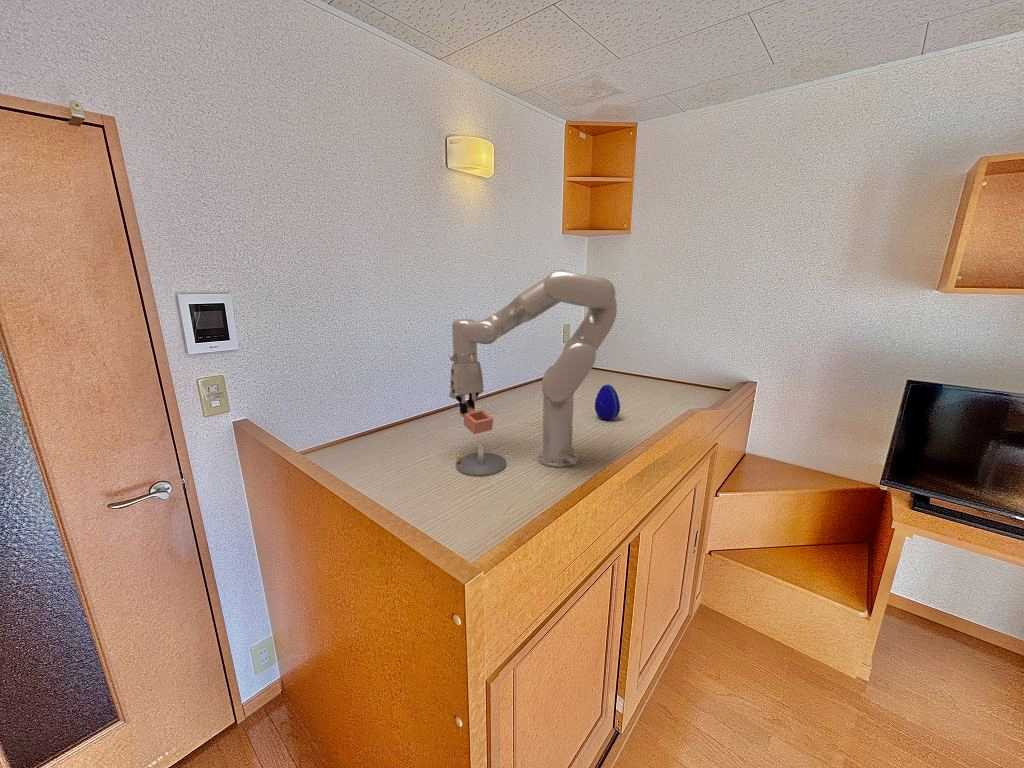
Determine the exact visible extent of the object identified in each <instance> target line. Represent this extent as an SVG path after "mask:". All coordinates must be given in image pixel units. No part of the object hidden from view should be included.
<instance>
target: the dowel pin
mask: <svg viewBox="0 0 1024 768" xmlns="http://www.w3.org/2000/svg"><path fill="white" fill-rule="evenodd" d="M455 456H456V457H455V458H456V459H455V460H456V462H457V464H460V458H461V454H460V453H457V454H455Z"/></svg>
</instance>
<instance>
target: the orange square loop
mask: <svg viewBox="0 0 1024 768" xmlns="http://www.w3.org/2000/svg"><path fill="white" fill-rule="evenodd" d="M465 403H466V404H467V402H466V401H465ZM459 415H460V416H461V417H463V425H464V427H466V428H467V429H468V430H469V431H470V432H471V433H472V434H473V435H477V434H481V433H485V432H490V431H492V430H493V424H494V418H493V417H491V416H490V415H489V414H488V413H486V411H485V410H483V409H481V410H474V409H473V408H472V407H470V406H469V405H468V404H467V413H466V414H465V415H464V414H462V413H461V412H460V411H459Z"/></svg>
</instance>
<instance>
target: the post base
mask: <svg viewBox="0 0 1024 768" xmlns="http://www.w3.org/2000/svg"><path fill="white" fill-rule="evenodd" d="M506 467H507V461H506V459H505V458H504V457H503V456H501V455H498V454H496V453H491V452H484V445H483V444H482V443H478V445H477V452H476V453H475V452H474V453H470V454H467V455H463V456H462V457H460V464H457V461H456V462H455V469H456V471H458V472H459V473H460V474H462V475H465V476H468V477H469V476H470V477H478V478H479V477H481V478H482V477H489V476H493V475H496V474H499V473H501V472H502V471H504V470H505V468H506Z"/></svg>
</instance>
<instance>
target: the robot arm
mask: <svg viewBox="0 0 1024 768" xmlns="http://www.w3.org/2000/svg"><path fill="white" fill-rule="evenodd" d="M559 303H565V304H570V305H574V306H578V307H579V306H581V307H585V308H588V309H587V312H586V315H585V317H584V318H583V320H582V321H581V323H580V324H579V326H578V328H577V329H576V330H575V332H574V333H573V334H572V336H571V337H570V339H569V340H567V342H566V343H565V345H564V347H563V350H562V352H561V354H560V355H559V357H558V358H557V360H556V361H555V363H554V364H553V365H551V366H549V367H548V368H547V369H546V371H545V372H544V374H543V378H542V382H541V391H542V393H543V394H542V396H543V397H542V398H543V399H542V404H543V405H542V408H543V409H542V451H540V452H539V453H538V454H537V460H538V461H539V463H541V464H543V465H545V466H548V467H552V468H563V467H564V468H565V467H569V466H572V465H576V464H577V463H578V461H579V459H580V456H579V455H577V454H576V453H575V448H573V423H574V422H573V418H574V416H573V415H574V393H576V391H577V390H578V388H579V387H580V386H581V384H582V383H583V382H584V380H585V379H586V378H587V376H588V375H589V373H590V372H591V370H592V368H593V367H594V365H595V363H596V359H597V354H596V353H597V351H598V349H599V348H600V347H601V345H602V344H603V342H604V341H605V339H606V338H607V336H608V334H609V333H610V331H611V330H612V328H613V326H614V323H615V321H616V318H617V312H618V307H617V305H618V304H617V299H616V288H615V286H614V284H613V283H612V282H611V281H610V280H609V279H608V278H604V277H600V276H595V275H594V276H593V275H589V274H588V275H586V274H581V273H576V272H572V271H567V270H564V269H558V270H554V271H551V273H549V274H548V275H547V276H546V277H544V278H542V279H541V280H539V281H538V282H537V283H535V284H533V285H531V286H530V287H529V288H528V289H526V290H524V291H522V292H521V293H520V294H518V295H516V297H515V298H514V299H513V300H511V301H510V302H509V303H508V304H507V305H505V306H504V307H502V308H501V309H500V310H497V312H495V313H493V314H492V315H489V316H488V317H486V318H484V319H481V320H474V319H470V318H460V319H455V320H453V321H452V324H451V327H452V329H451V330H452V331H451V332H452V350H453V351H452V352H453V353H452V356H450V357H449V360H450V362H451V361H452V363H451V368H450V377H449V378H450V381H449V383H450V386H449V387H450V391H449V394H448V397H449V398H451V399H455V400H456V401H458V402H459V413H460V412H461V413H462V414H464V415H465V414H466V413H467V404H468V405H469V406H470V407H472V408H473V409H474V410H475V409H476V408H475V407H476V405H475V402H476V401H477V398H478V397H479V395H481V394H482V393H484V378H483V376H484V375H483V369H482V366H481V362H480V361H479V360H478V344H480V345H481V344H482V345H490V344H493V343H494V342H496V341H497V340H498V339H499V338H501V337H503V336H504V335H505V334H507V333H509V332H511V331H512V330H514V329H515V328H517V327H519V326H520V325H522V324H524V323H527V322H530V321H532V320H534V319H536V318H538V317H539V316H540V315H542V314H544V313H545V312H547V311H548V310H550V309H551V308H553V307H555V306H556V305H558V304H559ZM466 395H468V400H467V402H466ZM465 402H466V403H467V404H466V403H465ZM475 411H476V410H475Z"/></svg>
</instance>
